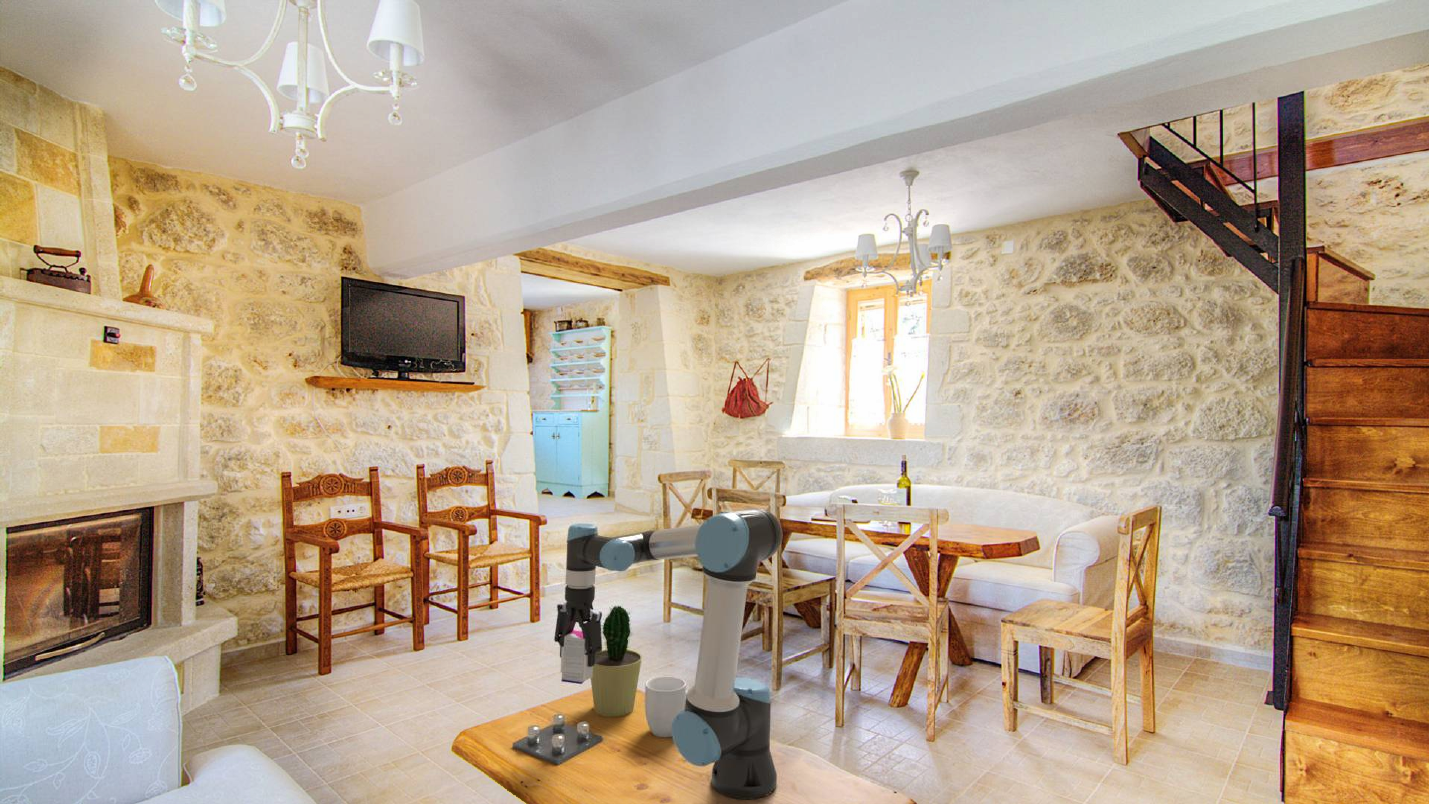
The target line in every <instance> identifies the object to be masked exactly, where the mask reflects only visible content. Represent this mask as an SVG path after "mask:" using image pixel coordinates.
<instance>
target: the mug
mask: <svg viewBox="0 0 1429 804" xmlns="http://www.w3.org/2000/svg"><path fill="white" fill-rule="evenodd" d="M644 688H645V689H644V690H645V691H644V709H645V710H644V713H645V718H646V722H647V725H648V728H649V730H650V731H651V733H652V734H653V735H654V736H656V737H658V738H673V737H672V723H673V720H674V718H675V717H676V716H677V715H678V714H679V713H680V712H681V711H684V709H685V703H686V695H687V691H688V690H687V682H686V681H685V680H684V679H682V678H680V677H675V676H669V675H667V676H665V675H664V676H655V677H652V678H650V679H648V680H647V681H646V682H645V687H644Z"/></svg>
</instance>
